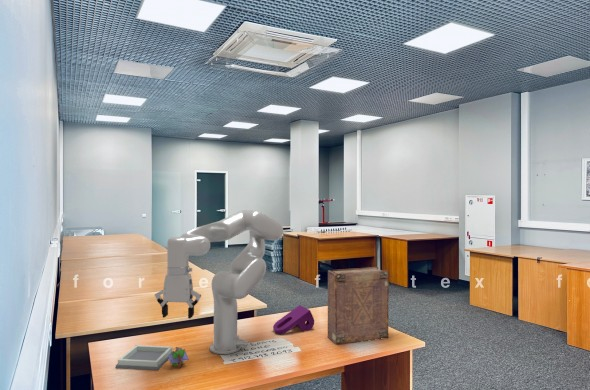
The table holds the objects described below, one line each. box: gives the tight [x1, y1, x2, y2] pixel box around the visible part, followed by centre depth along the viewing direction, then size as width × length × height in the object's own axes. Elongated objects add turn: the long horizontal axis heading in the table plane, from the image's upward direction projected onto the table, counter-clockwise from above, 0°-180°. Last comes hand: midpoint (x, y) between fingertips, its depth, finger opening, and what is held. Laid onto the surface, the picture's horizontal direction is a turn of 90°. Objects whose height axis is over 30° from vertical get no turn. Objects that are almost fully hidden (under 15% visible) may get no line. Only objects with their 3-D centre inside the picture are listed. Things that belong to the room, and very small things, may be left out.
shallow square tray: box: [115, 344, 175, 371], centre depth 154 cm, size 16×15×3 cm
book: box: [327, 266, 390, 345], centre depth 179 cm, size 25×9×30 cm, turn 108°
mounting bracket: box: [272, 304, 315, 335], centre depth 189 cm, size 9×8×18 cm
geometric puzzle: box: [168, 346, 190, 368], centre depth 150 cm, size 7×7×8 cm
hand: (177, 316), depth 149 cm, fingers open, 9 cm apart
